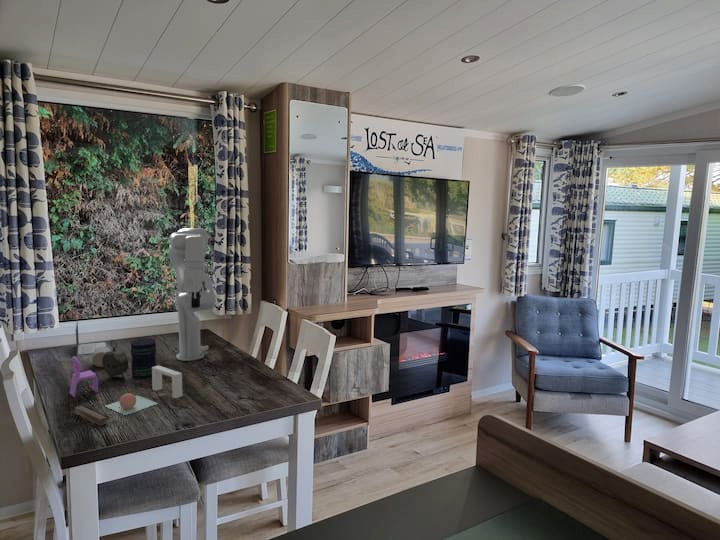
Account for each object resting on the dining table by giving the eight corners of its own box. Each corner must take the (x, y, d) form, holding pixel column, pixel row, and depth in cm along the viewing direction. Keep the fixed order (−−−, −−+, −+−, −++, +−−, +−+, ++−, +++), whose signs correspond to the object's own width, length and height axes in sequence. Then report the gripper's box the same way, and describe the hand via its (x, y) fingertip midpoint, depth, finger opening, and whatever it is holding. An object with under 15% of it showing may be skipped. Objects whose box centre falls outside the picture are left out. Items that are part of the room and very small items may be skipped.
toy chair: (99, 393, 195) (98, 355, 193) (74, 399, 189) (72, 360, 187) (92, 387, 201) (90, 350, 199) (68, 392, 195) (66, 355, 192)
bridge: (159, 387, 202) (158, 365, 201) (182, 396, 194) (181, 373, 193) (152, 389, 199) (151, 367, 198) (175, 398, 192) (175, 375, 190)
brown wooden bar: (81, 412, 177) (80, 405, 177) (106, 424, 168) (106, 417, 168) (75, 414, 175) (74, 407, 175) (100, 426, 167) (100, 419, 166)
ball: (128, 407, 184) (132, 392, 185) (136, 411, 181) (141, 395, 182) (114, 406, 180) (119, 391, 181) (123, 410, 177) (127, 394, 178)
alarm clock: (129, 378, 211) (128, 340, 209) (118, 382, 207) (117, 343, 204) (111, 373, 216) (109, 337, 214) (100, 377, 211) (98, 340, 209)
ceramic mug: (92, 368, 222) (91, 351, 221) (93, 363, 229) (93, 346, 228) (118, 366, 226) (118, 349, 225) (119, 361, 233) (119, 344, 232)
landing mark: (137, 395, 193) (137, 395, 193) (158, 403, 186) (158, 403, 186) (104, 406, 183) (104, 406, 182) (125, 415, 175) (125, 415, 175)
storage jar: (151, 370, 222) (150, 337, 220) (160, 376, 215) (159, 342, 213) (128, 375, 215) (126, 341, 213) (137, 381, 208) (135, 346, 206)
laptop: (106, 353, 245) (105, 327, 243) (76, 356, 239) (75, 329, 238) (105, 343, 261) (104, 318, 259) (77, 346, 255) (76, 320, 253)
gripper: (176, 264, 215) (177, 306, 217) (199, 267, 207) (200, 311, 209) (190, 262, 221) (191, 303, 224) (213, 265, 213) (214, 308, 215)
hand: (195, 307), depth 216 cm, fingers closed
